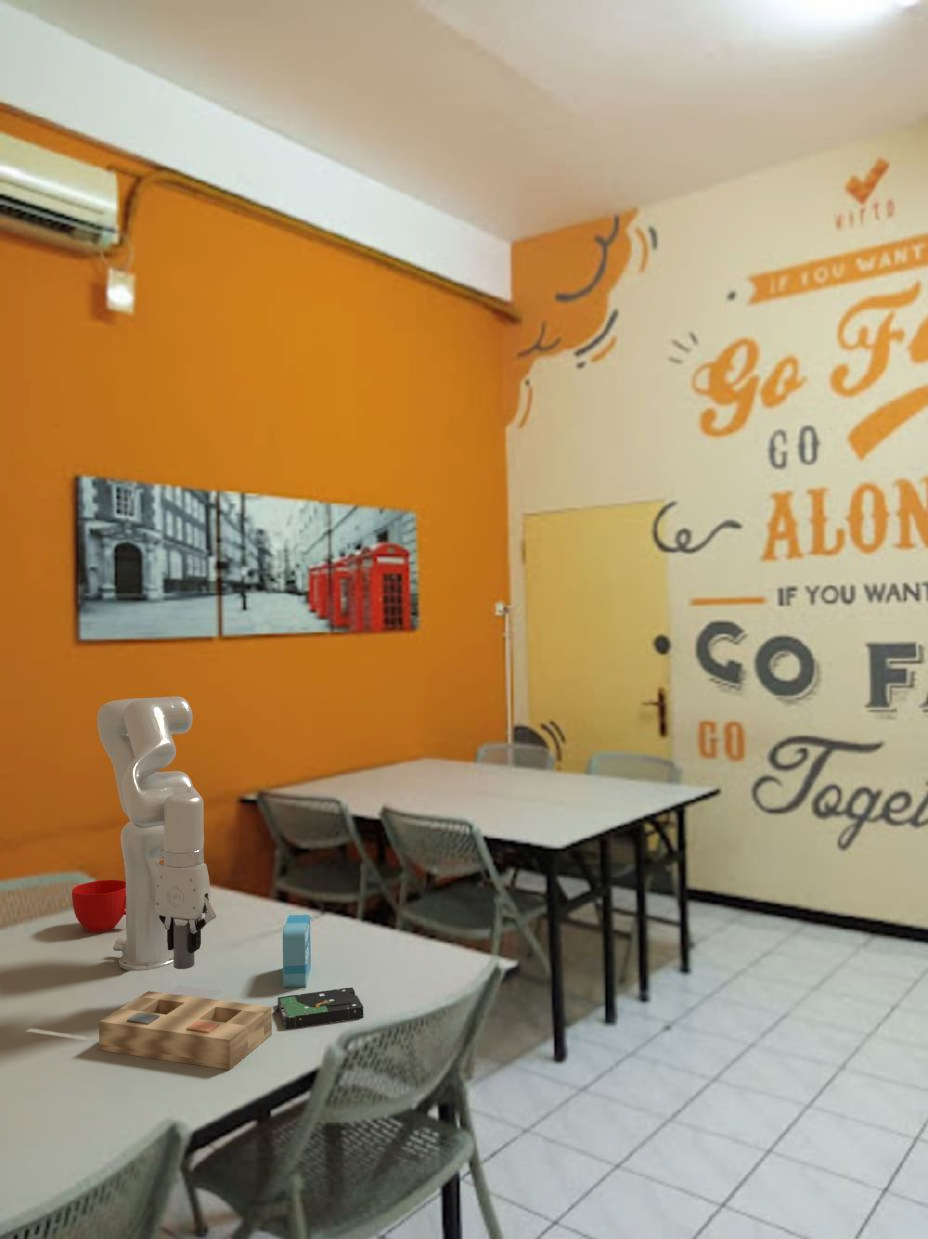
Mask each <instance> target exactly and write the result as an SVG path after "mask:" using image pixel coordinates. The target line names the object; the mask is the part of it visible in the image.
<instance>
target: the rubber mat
mask: <svg viewBox="0 0 928 1239" xmlns="http://www.w3.org/2000/svg"><path fill="white" fill-rule="evenodd" d="M221 992H223V990H220V989H213V988H206V987H205V988H204V987H196V986H187V985H181V984H180V985H179V984H178V985H177V986H175V987H174V988H172V989H170V990H169V991H168V992H166V993H167V994H175V995H183V996H190V997H198V998H206V999H212V998H214V997H215V996H217V995H218V994H220V993H221Z"/></svg>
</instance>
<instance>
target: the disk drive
mask: <svg viewBox="0 0 928 1239" xmlns="http://www.w3.org/2000/svg"><path fill="white" fill-rule="evenodd" d="M277 1010H278V1013H279V1016H280V1019H281V1021H282V1025H283V1029H284V1030H290V1029H299V1028H303V1027H311V1026H312V1027H313V1026H317V1025H324V1024H325V1023H326V1024H332V1023H331V1022H333V1023H337V1022H336V1021H339V1022H344V1021H343V1020H346V1021H353V1019H354V1020H359V1019H364V1005H363V1004H362V1002H361V1000H360V998H359V996H358V995H357V994H356V993H355V989H354V988H353V987H343V988H337V989H336V988H335V989H329V990H322V991H316V992H307V993H301V994H293V995H287V996H280V997H279V996H278V997H277ZM326 1024H325V1025H326Z"/></svg>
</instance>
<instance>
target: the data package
mask: <svg viewBox="0 0 928 1239" xmlns="http://www.w3.org/2000/svg"><path fill="white" fill-rule="evenodd" d="M311 955H312V954H311V915H310V914H293V915H292V914H291V915H287V918H286V922H285V925H284V928H283V931H282V981H283V982H282V986H283V988H301V987H302V988H306V987H307V983H308V979H309V975H310V971H311V965H312V964H311V962H312V961H311Z"/></svg>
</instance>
